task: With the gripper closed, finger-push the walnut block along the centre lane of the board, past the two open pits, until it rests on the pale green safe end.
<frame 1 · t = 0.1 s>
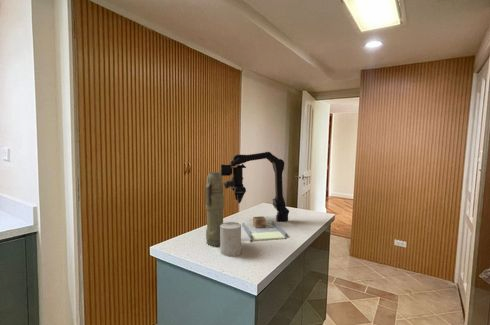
hand: (238, 201, 160), 15 cm above the countertop, fingers open, 9 cm apart
thermos: (215, 243, 132), on the countertop
walnut block: (259, 226, 154), point 1 cm above the countertop, touching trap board
grey concrete cylinder: (230, 252, 121), on the countertop
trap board: (262, 232, 147), on the countertop
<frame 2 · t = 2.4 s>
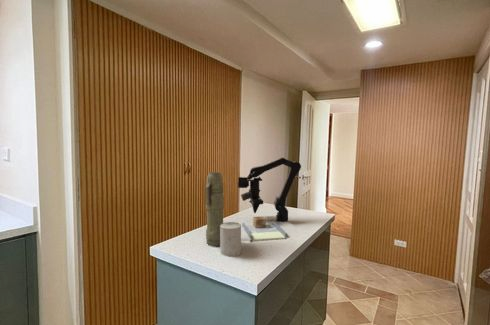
hand: (254, 212, 166), 6 cm above the countertop, fingers closed
nothing on the countertop moved.
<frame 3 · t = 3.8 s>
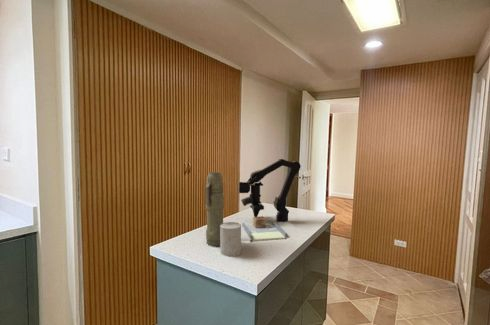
hand: (255, 218, 164), 3 cm above the countertop, fingers closed
nothing on the countertop moved.
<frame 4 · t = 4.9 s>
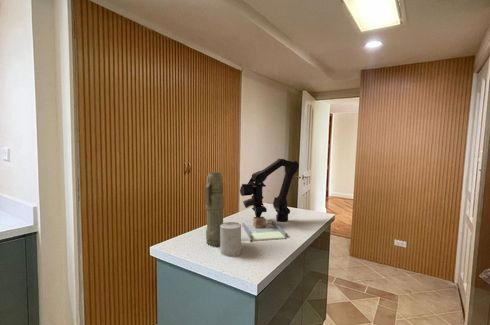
hand: (257, 220, 158), 4 cm above the countertop, fingers closed
walnut block: (259, 226, 154), point 1 cm above the countertop, touching gripper, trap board
everything else where it was.
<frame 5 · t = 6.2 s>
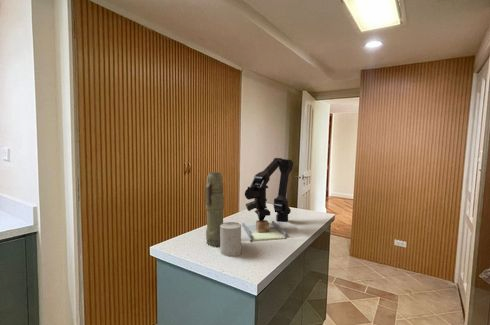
hand: (260, 224, 151), 4 cm above the countertop, fingers closed
walnut block: (262, 230, 147), point 1 cm above the countertop, touching gripper
everything else where it was.
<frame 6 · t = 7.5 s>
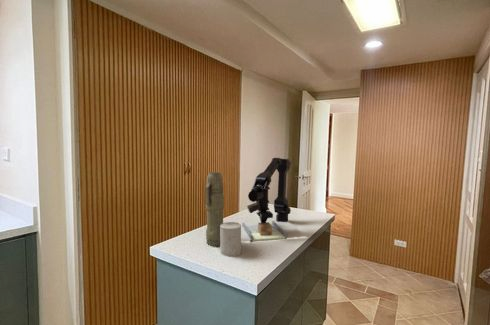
hand: (262, 226, 147), 4 cm above the countertop, fingers closed
walnut block: (264, 233, 142), point 1 cm above the countertop, touching gripper, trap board
everything else where it was.
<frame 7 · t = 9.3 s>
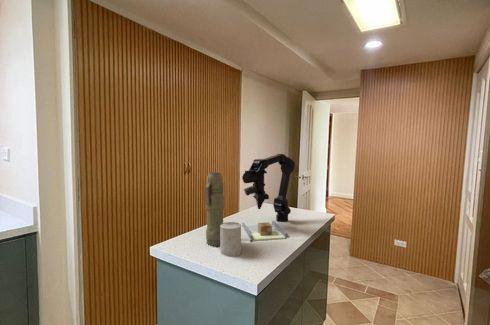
hand: (259, 208, 152), 12 cm above the countertop, fingers closed
walnut block: (264, 233, 142), point 1 cm above the countertop, touching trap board
everything else where it was.
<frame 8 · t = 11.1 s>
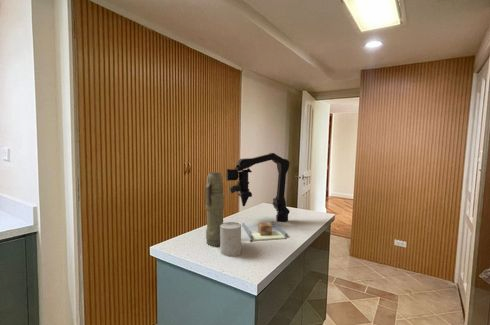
hand: (243, 206, 158), 12 cm above the countertop, fingers closed
nothing on the countertop moved.
at the end: walnut block inside the target area on the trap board (3.2 cm from its centre), point 1.2 cm above the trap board's base; walnut block tilted 0° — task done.
